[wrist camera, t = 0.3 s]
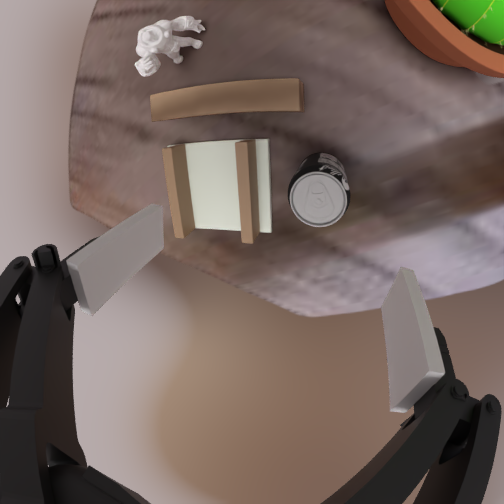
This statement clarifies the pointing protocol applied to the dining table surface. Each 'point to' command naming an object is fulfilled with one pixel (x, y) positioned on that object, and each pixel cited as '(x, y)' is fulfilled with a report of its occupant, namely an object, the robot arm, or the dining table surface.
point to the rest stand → (220, 186)
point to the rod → (229, 99)
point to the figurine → (164, 42)
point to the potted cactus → (455, 31)
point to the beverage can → (319, 190)
